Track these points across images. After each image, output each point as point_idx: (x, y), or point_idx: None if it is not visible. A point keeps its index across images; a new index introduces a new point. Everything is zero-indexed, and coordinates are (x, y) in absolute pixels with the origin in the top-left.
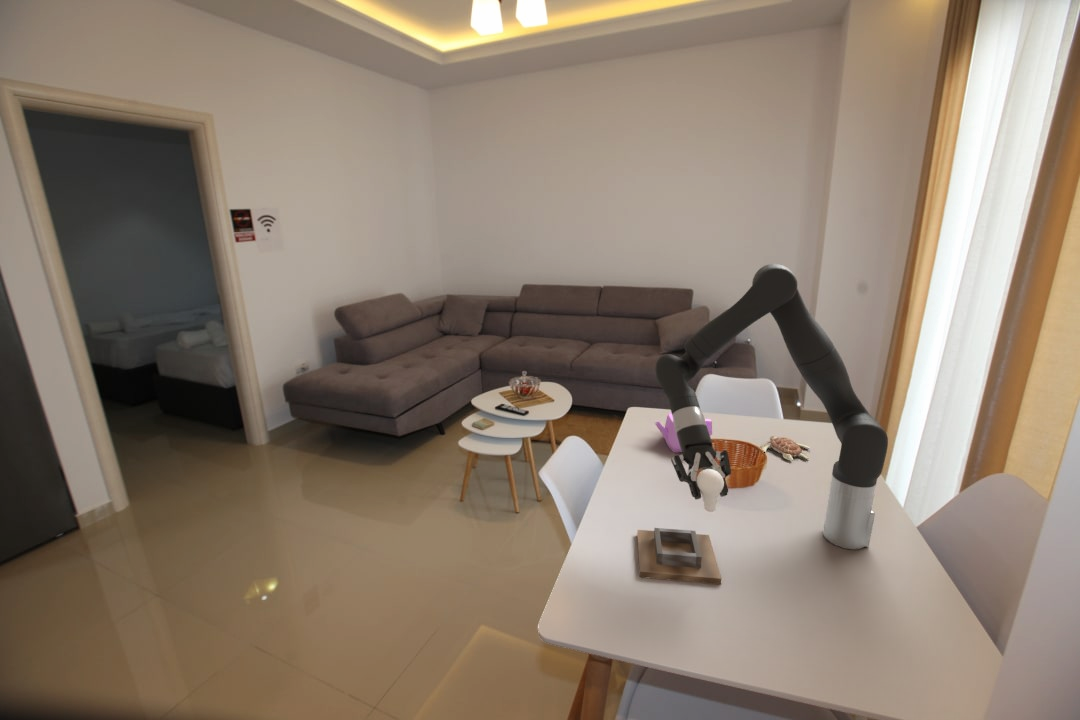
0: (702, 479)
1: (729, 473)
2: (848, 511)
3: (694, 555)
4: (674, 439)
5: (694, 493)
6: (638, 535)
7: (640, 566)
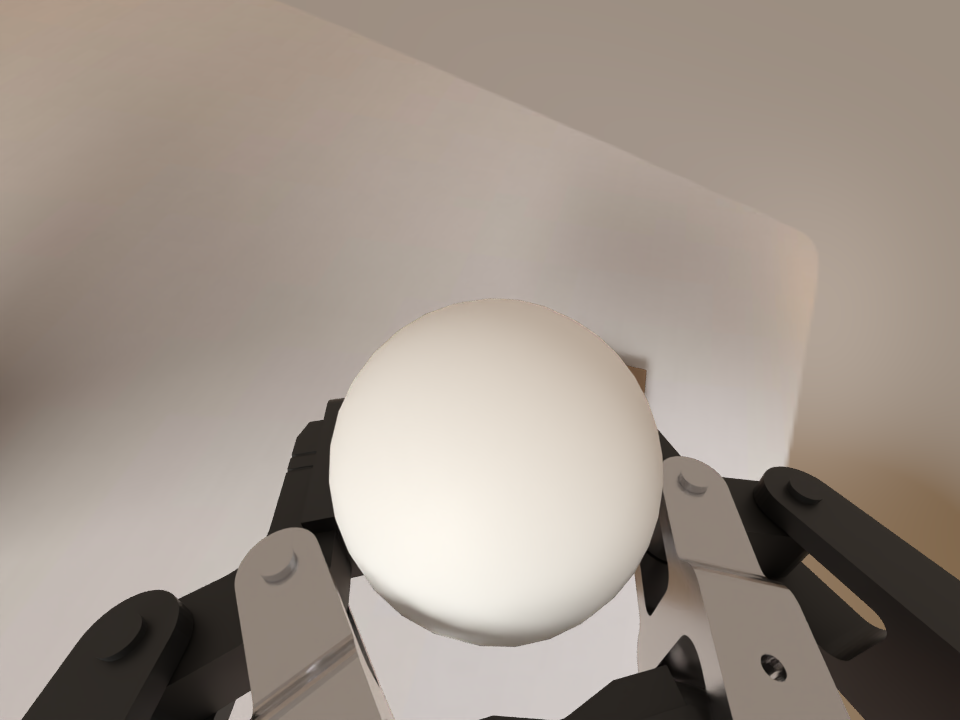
0: (637, 382)
1: (133, 612)
2: None
3: None
4: None
5: None
6: None
7: (642, 389)
